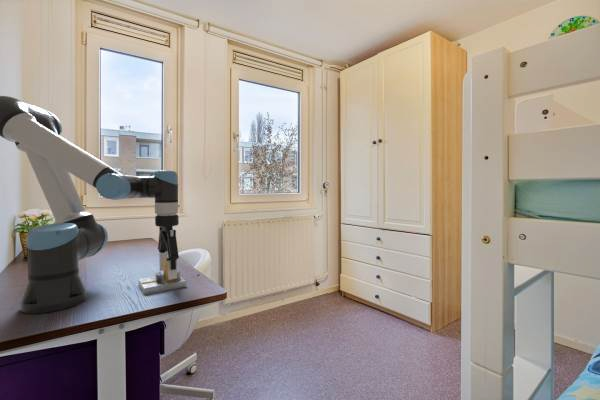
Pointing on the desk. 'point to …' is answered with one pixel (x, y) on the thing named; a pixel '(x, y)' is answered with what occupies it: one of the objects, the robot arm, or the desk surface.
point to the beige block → (166, 271)
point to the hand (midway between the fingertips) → (168, 274)
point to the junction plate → (160, 283)
